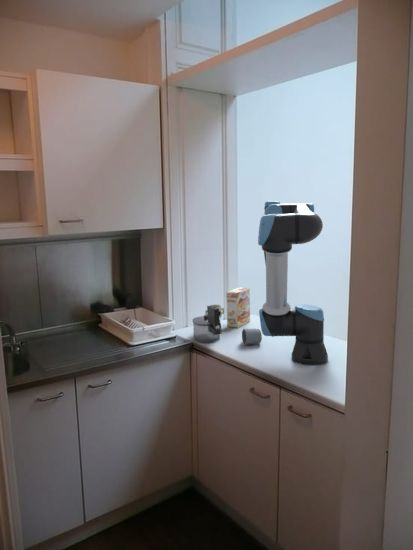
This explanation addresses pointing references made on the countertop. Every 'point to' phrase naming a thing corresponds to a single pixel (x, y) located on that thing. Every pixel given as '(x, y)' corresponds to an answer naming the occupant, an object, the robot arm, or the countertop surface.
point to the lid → (208, 317)
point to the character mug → (219, 312)
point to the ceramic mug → (251, 336)
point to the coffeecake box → (238, 307)
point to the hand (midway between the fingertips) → (271, 281)
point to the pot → (206, 333)
